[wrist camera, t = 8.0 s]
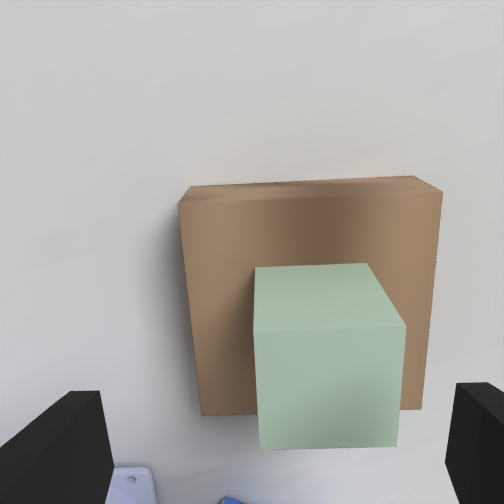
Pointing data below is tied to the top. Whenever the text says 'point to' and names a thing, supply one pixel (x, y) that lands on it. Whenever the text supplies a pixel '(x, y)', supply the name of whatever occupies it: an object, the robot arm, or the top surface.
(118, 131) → the top surface
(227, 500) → the medicine box
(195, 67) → the top surface
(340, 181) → the walnut base block
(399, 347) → the sage block
